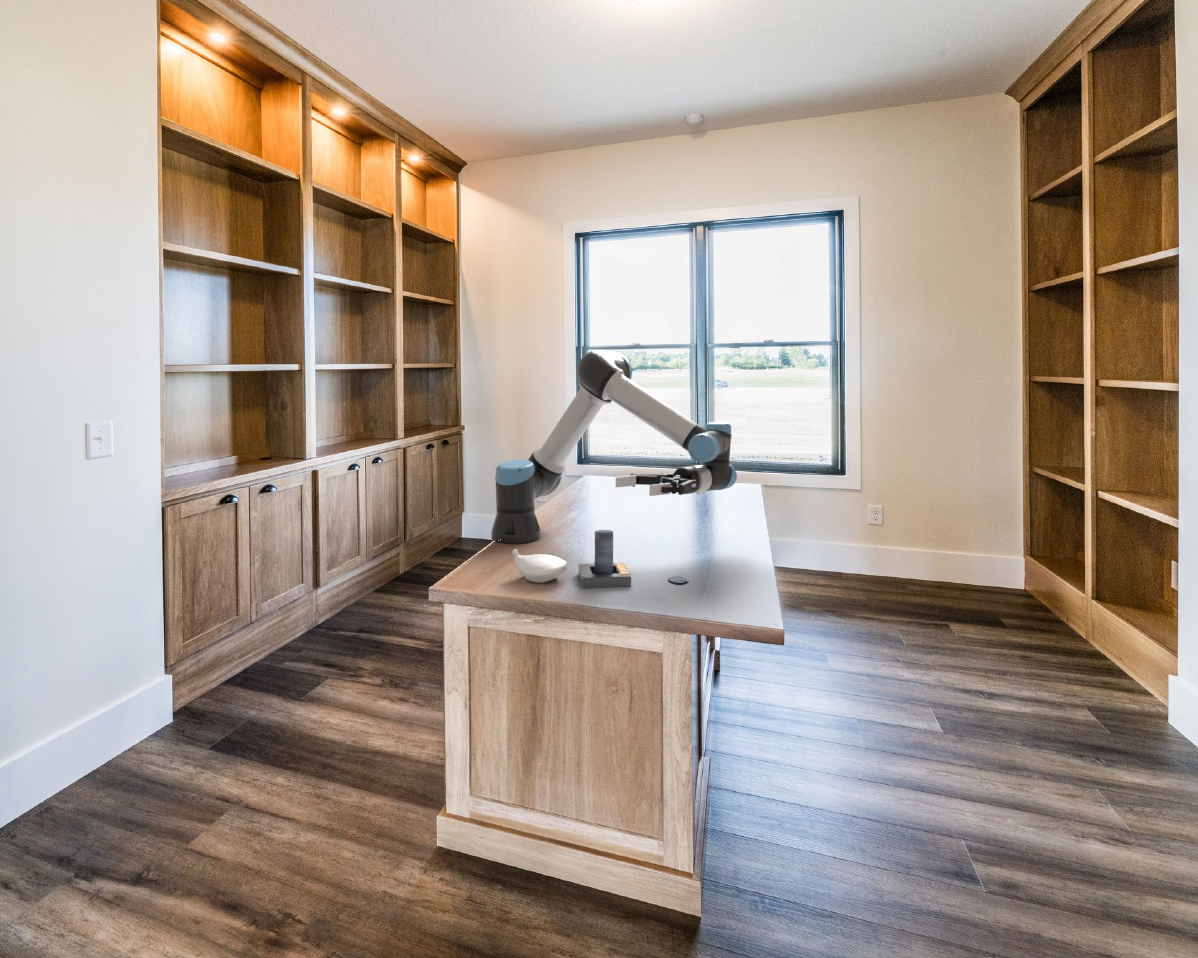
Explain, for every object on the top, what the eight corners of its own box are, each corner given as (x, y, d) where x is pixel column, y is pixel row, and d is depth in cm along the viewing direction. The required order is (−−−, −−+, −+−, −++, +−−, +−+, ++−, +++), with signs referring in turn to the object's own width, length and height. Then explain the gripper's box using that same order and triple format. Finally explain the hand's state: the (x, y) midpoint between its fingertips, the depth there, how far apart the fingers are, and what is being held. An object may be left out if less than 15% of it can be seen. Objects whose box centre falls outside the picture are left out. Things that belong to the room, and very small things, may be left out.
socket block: (582, 588, 151) (582, 577, 151) (578, 573, 163) (578, 563, 162) (631, 586, 153) (631, 575, 152) (623, 572, 164) (623, 561, 164)
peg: (590, 579, 158) (590, 531, 156) (605, 575, 161) (605, 528, 159) (602, 583, 155) (602, 534, 153) (616, 580, 158) (617, 532, 156)
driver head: (522, 540, 164) (555, 528, 157) (543, 575, 166) (577, 565, 159) (498, 562, 156) (531, 551, 148) (520, 598, 158) (554, 589, 150)
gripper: (724, 500, 170) (665, 509, 158) (660, 486, 190) (603, 492, 177) (726, 472, 169) (666, 479, 157) (661, 460, 189) (603, 465, 176)
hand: (632, 486), depth 167 cm, fingers open, 13 cm apart
